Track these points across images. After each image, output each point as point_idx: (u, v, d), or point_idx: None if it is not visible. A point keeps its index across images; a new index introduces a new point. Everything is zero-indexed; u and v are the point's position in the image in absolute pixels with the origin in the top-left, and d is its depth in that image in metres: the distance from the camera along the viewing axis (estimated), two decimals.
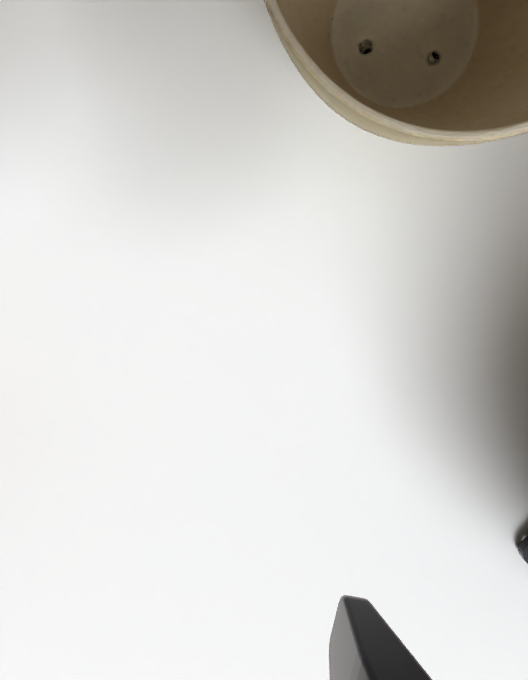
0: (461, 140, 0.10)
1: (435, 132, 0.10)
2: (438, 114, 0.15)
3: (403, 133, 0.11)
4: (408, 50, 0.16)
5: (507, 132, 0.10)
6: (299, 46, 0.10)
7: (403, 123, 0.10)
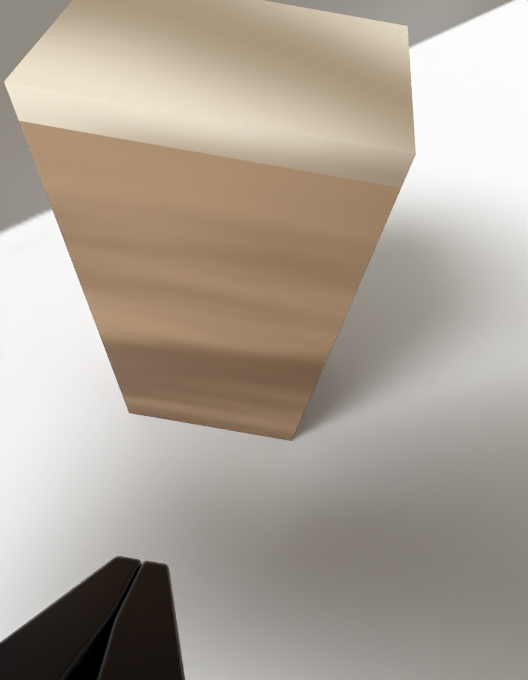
0: None
1: None
2: None
3: None
4: None
5: None
6: None
7: None
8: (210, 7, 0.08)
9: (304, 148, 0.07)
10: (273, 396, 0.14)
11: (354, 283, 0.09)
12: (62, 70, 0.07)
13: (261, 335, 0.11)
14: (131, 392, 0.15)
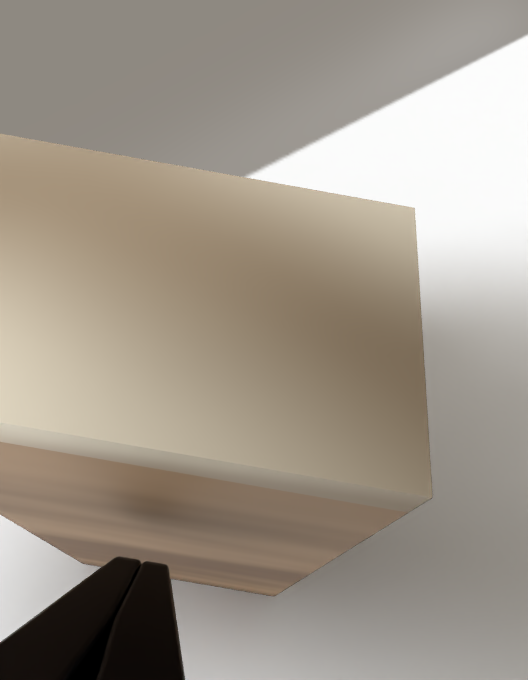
0: None
1: None
2: None
3: None
4: None
5: None
6: None
7: None
8: (140, 192, 0.06)
9: (259, 473, 0.04)
10: (248, 579, 0.11)
11: (342, 549, 0.07)
12: None
13: (226, 555, 0.09)
14: (79, 556, 0.13)
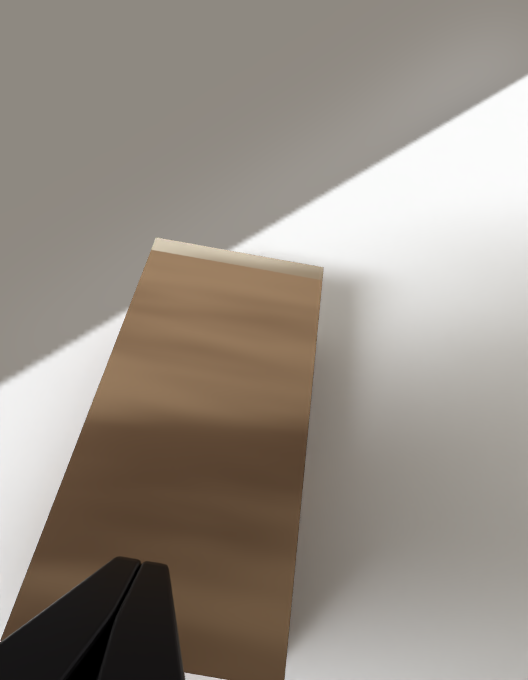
0: None
1: None
2: None
3: None
4: None
5: None
6: None
7: None
8: None
9: (278, 264, 0.16)
10: (257, 514, 0.11)
11: (313, 335, 0.15)
12: None
13: (251, 395, 0.13)
14: (50, 549, 0.11)
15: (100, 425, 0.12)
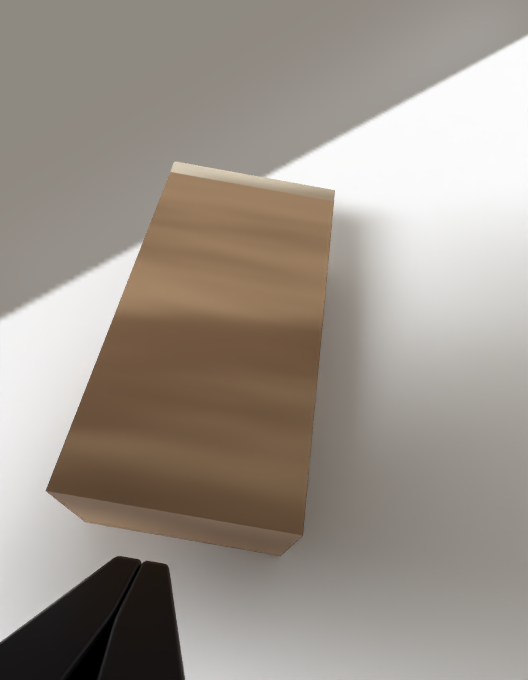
0: None
1: None
2: None
3: None
4: None
5: None
6: None
7: None
8: None
9: (291, 187, 0.17)
10: (276, 396, 0.12)
11: (326, 248, 0.15)
12: None
13: (268, 298, 0.14)
14: (87, 419, 0.12)
15: (128, 319, 0.13)
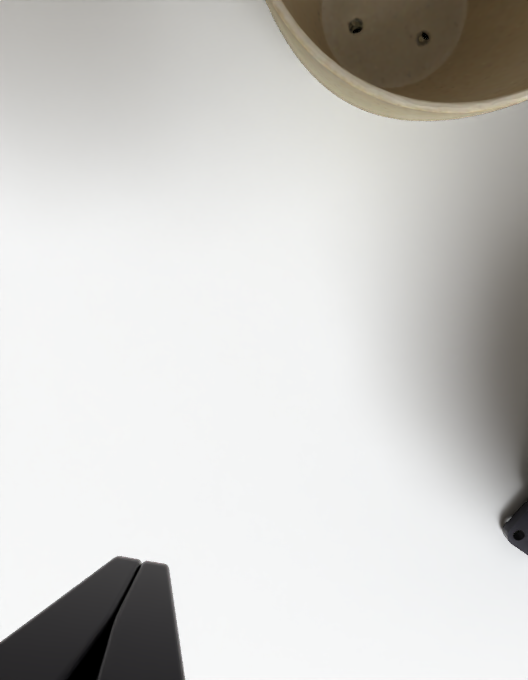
0: (449, 112, 0.10)
1: (424, 103, 0.10)
2: (427, 94, 0.15)
3: (392, 104, 0.11)
4: (398, 29, 0.16)
5: (494, 104, 0.10)
6: (288, 14, 0.10)
7: (392, 94, 0.10)
8: None
9: None
10: None
11: None
12: None
13: None
14: None
15: None
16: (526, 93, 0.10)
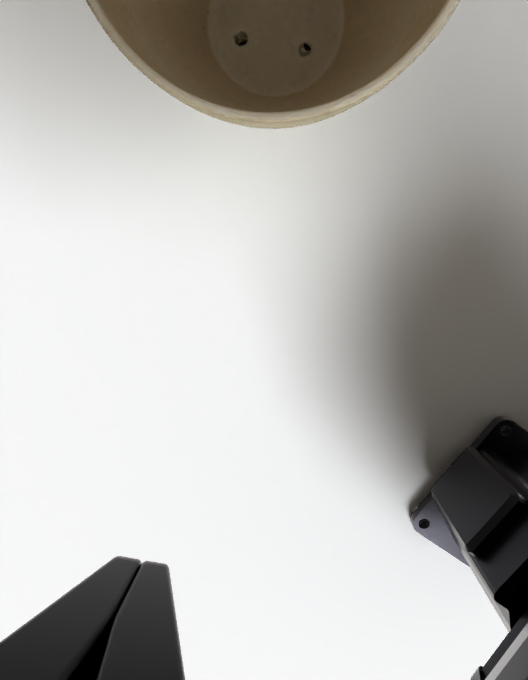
0: (269, 121, 0.11)
1: (245, 113, 0.11)
2: (302, 102, 0.16)
3: (217, 114, 0.11)
4: (281, 41, 0.17)
5: (309, 113, 0.11)
6: (116, 34, 0.11)
7: (215, 105, 0.11)
8: None
9: None
10: None
11: None
12: None
13: None
14: None
15: None
16: (336, 102, 0.11)
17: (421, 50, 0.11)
